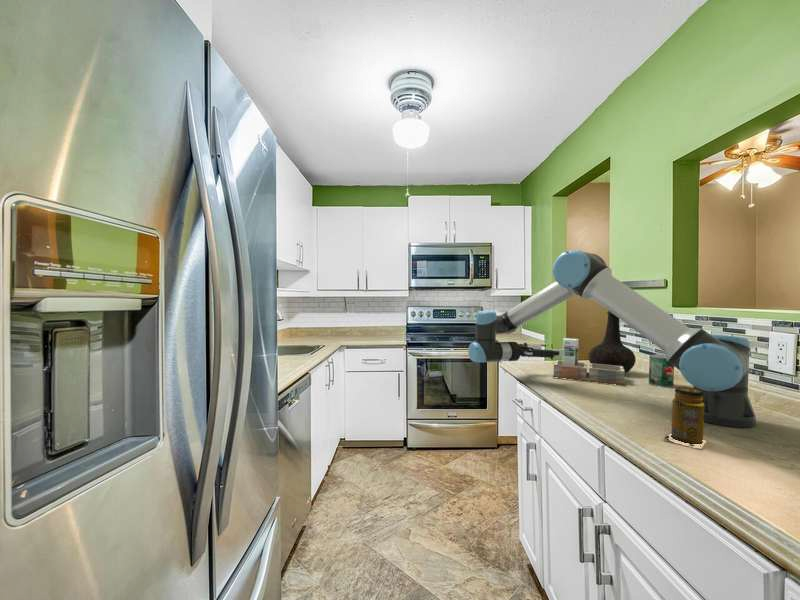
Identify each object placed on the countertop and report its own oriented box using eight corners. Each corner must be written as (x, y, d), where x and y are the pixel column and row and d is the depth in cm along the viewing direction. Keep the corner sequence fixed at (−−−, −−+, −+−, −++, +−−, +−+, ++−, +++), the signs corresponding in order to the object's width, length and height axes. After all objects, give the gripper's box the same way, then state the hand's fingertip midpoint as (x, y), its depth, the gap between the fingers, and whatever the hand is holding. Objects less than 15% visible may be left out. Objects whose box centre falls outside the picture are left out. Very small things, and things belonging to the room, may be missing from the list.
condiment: (708, 440, 90) (709, 390, 90) (701, 450, 84) (703, 396, 84) (670, 432, 95) (672, 384, 95) (662, 441, 89) (664, 389, 89)
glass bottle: (583, 372, 166) (585, 308, 166) (594, 367, 180) (595, 307, 179) (630, 379, 155) (633, 310, 154) (638, 372, 169) (640, 309, 168)
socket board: (624, 386, 143) (625, 372, 143) (552, 378, 154) (553, 365, 154) (622, 378, 156) (622, 366, 156) (555, 371, 167) (556, 360, 167)
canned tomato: (674, 388, 141) (675, 358, 140) (648, 385, 145) (649, 356, 144) (672, 384, 147) (673, 355, 147) (648, 381, 151) (649, 353, 151)
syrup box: (561, 373, 158) (563, 338, 158) (563, 371, 163) (564, 337, 163) (577, 375, 155) (578, 339, 155) (578, 372, 161) (579, 338, 160)
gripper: (489, 355, 161) (532, 354, 168) (526, 367, 137) (574, 364, 144) (490, 337, 161) (532, 337, 168) (527, 346, 137) (575, 344, 144)
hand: (552, 349), depth 156 cm, fingers open, 13 cm apart
